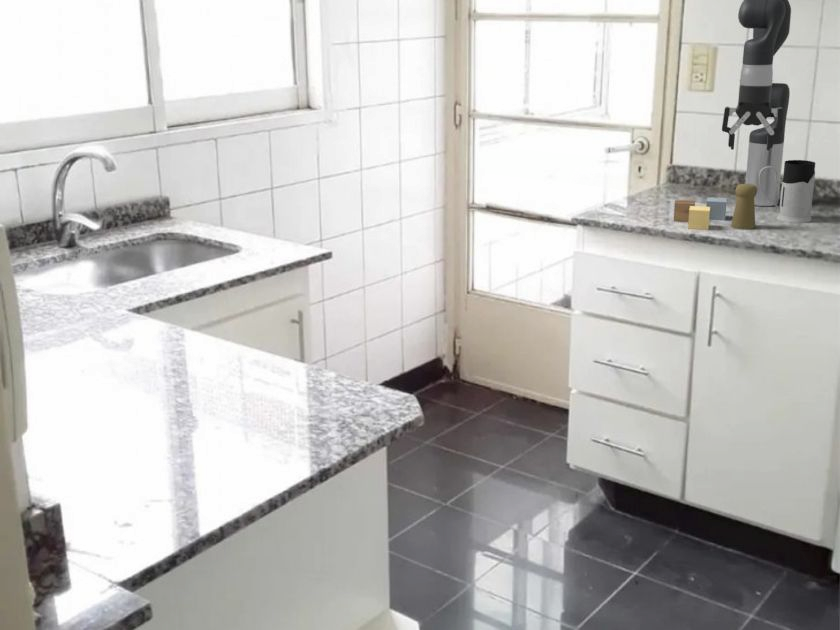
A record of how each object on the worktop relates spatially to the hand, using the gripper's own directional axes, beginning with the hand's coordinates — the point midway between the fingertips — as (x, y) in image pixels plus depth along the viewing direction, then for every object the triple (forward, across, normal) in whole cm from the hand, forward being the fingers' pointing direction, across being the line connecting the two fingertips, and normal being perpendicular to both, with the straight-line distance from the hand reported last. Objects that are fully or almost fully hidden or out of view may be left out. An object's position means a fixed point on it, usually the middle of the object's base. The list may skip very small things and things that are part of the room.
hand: (749, 149), depth 249 cm
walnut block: (+20, +15, -5) cm, 25 cm away
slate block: (+20, +7, -9) cm, 23 cm away
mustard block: (+20, +11, +3) cm, 23 cm away
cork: (+20, 0, 0) cm, 20 cm away
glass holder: (+20, -10, -12) cm, 25 cm away
